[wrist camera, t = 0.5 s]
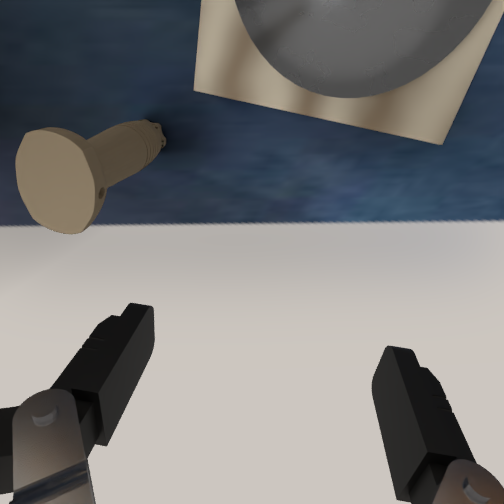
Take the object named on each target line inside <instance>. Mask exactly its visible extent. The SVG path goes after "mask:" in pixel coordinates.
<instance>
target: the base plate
mask: <svg viewBox="0 0 504 504" xmlns="http://www.w3.org/2000/svg"><path fill="white" fill-rule="evenodd" d="M503 12H504V0H492V1H491V3H490V5H489V6H488V8H487V9H486V11H485V13H484V14H483V16H482V17H481V18H480V20H479V21H478V22H477V24H476V25H475V26H474V28H473V29H472V30H471V31H470V33H469V34H468V35H467V36H466V37H465V38H464V40H463V41H462V42H461V43H460V44H459V45H458V46H457V47H456V48H455V49H454V50H453V51H452V52H451V53H450V54H449V55H448V56H446V57H445V58H444V59H443V60H442V61H441V62H440V63H438V64H437V65H436V66H434V67H433V68H432V69H430V70H429V71H427V72H426V73H425V74H423V75H422V76H420V77H418V78H416V79H415V80H413V81H411V82H409V83H407V84H406V85H403V86H401V87H398V88H396V89H394V90H391V91H389V92H385V93H381V94H378V95H374V96H368V97H361V98H336V97H329V96H324V95H320V94H317V93H314V92H310V91H308V90H306V89H304V88H302V87H300V86H297V85H296V84H294V83H293V82H291V81H290V80H288V79H286V78H285V77H283V76H282V75H281V74H280V73H279V72H278V71H277V70H275V69H274V68H273V67H272V66H271V65H270V64H269V63H268V61H267V60H266V59H265V58H264V57H263V56H262V55H261V53H260V52H259V50H258V49H257V47H256V46H255V44H254V43H253V41H252V40H251V38H250V36H249V34H248V32H247V30H246V28H245V26H244V24H243V22H242V20H241V17H240V14H239V11H238V9H237V6H236V3H235V0H202V1H201V13H200V24H199V35H198V46H197V57H196V69H195V80H194V91H198V92H202V93H207V94H211V95H216V96H221V97H225V98H230V99H234V100H239V101H243V102H248V103H252V104H257V105H261V106H266V107H271V108H275V109H280V110H284V111H289V112H293V113H298V114H302V115H307V116H312V117H316V118H321V119H325V120H330V121H334V122H339V123H343V124H348V125H352V126H357V127H362V128H366V129H371V130H375V131H380V132H384V133H389V134H393V135H398V136H403V137H407V138H412V139H416V140H421V141H425V142H430V143H434V144H439V145H442V144H443V142H444V140H445V138H446V135H447V133H448V131H449V129H450V127H451V125H452V122H453V120H454V118H455V116H456V114H457V112H458V110H459V107H460V105H461V103H462V101H463V99H464V97H465V94H466V92H467V90H468V88H469V86H470V84H471V81H472V79H473V77H474V75H475V73H476V71H477V68H478V66H479V64H480V62H481V60H482V58H483V55H484V53H485V51H486V49H487V47H488V45H489V42H490V40H491V38H492V36H493V34H494V32H495V29H496V27H497V25H498V23H499V21H500V19H501V16H502V14H503Z"/></svg>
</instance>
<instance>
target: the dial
mask: <svg viewBox="0 0 504 504" xmlns="http://www.w3.org/2000/svg"><path fill="white" fill-rule="evenodd" d="M491 1H492V0H235V3H236V6H237V9H238V11H239V14H240V17H241V20H242V22H243V24H244V26H245V28H246V30H247V32H248V34H249V36H250V38H251V40H252V41H253V43H254V44H255V46H256V47H257V49H258V50H259V52H260V53H261V55H262V56H263V57H264V58H265V59H266V60H267V61H268V63H269V64H270V65H271V66H272V67H273V68H274V69H275V70H277V71H278V72H279V73H280V74H281V75H282V76H283V77H285V78H286V79H288V80H290V81H291V82H293V83H294V84H296V85H297V86H300V87H302V88H304V89H306V90H308V91H310V92H314V93H317V94H320V95H324V96H329V97H336V98H361V97H368V96H374V95H378V94H381V93H385V92H389V91H391V90H394V89H396V88H398V87H401V86H403V85H406V84H407V83H409V82H411V81H413V80H415V79H416V78H418V77H420V76H422V75H423V74H425V73H426V72H427V71H429V70H430V69H432V68H433V67H434V66H436V65H437V64H438V63H440V62H441V61H442V60H443V59H444V58H445V57H446V56H448V55H449V54H450V53H451V52H452V51H453V50H454V49H455V48H456V47H457V46H458V45H459V44H460V43H461V42H462V41H463V40H464V38H465V37H466V36H467V35H468V34H469V33H470V31H471V30H472V29H473V28H474V26H475V25H476V24H477V22H478V21H479V20H480V18H481V17H482V16H483V14H484V13H485V11H486V9H487V8H488V6H489V5H490V3H491Z"/></svg>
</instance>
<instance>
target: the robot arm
mask: <svg viewBox="0 0 504 504" xmlns="http://www.w3.org/2000/svg"><path fill="white" fill-rule="evenodd" d="M154 341H155V336H154V309H153V307H152V306H147V305H142V304H136V303H130V304H128V306H127V307H126V309H125V310H124V311H123V313H122V314H121V316H114V315H111V316H110V317H108V318H107V319H105V320H104V321H102V322H101V323H99V324H98V325H97V327H96V328H95V329H94V331H93V332H92V333H91V335H90V336H89V339H87V340H86V341H85V343H84V344H83V345H82V348H80V349H79V351H78V352H77V353H76V355H75V356H74V358H73V359H72V360H71V361H70V363H69V364H68V365H67V367H66V368H65V369H64V371H63V372H62V373H61V375H60V376H59V378H58V379H57V380H56V381H55V383H54V384H53V385H52V387H51V388H50V389H48V390H44V391H41V392H38V393H36V394H34V395H33V396H31V397H29V398H28V399H27V400H25V401H24V402H23V403H22V404H21V405H20V406H16V407H10V408H1V409H0V494H6V493H11V492H14V495H13V500H12V501H11V502H10V503H9V504H96V503H95V497H94V492H93V486H92V481H91V476H90V470H89V465H88V460H87V458H88V456H89V454H90V452H91V451H92V448H93V447H94V445H95V444H97V445H102V446H107V445H108V443H109V441H110V439H111V437H112V435H113V433H114V431H115V429H116V427H117V424H118V422H119V420H120V418H121V416H122V414H123V412H124V410H125V408H126V406H127V404H128V402H129V400H130V398H131V396H132V394H133V391H134V390H135V388H136V386H137V384H138V381H139V379H140V377H141V375H142V373H143V371H144V369H145V367H146V365H147V363H148V361H149V359H150V357H151V354H152V351H153V347H154ZM372 396H373V400H374V405H375V409H376V413H377V418H378V422H379V426H380V430H381V435H382V439H383V443H384V448H385V452H386V456H387V460H388V465H389V469H390V473H391V478H392V481H393V486H394V490H395V495H396V499H397V500H400V501H406V502H411V504H504V488H503V487H502V485H501V484H500V482H499V481H498V480H497V479H496V478H495V477H494V476H493V475H492V474H491V473H490V472H489V471H487V470H486V469H485V468H483V467H482V466H480V465H478V464H477V463H476V461H475V459H474V457H473V455H472V452H471V450H470V448H469V446H468V443H467V441H466V439H465V437H464V435H463V433H462V430H461V428H460V426H459V424H458V422H457V419H456V417H455V415H454V413H452V408H451V406H450V404H449V402H448V400H446V395H445V393H444V391H443V389H442V386H441V384H440V382H439V381H438V380H437V379H436V377H435V376H434V375H433V374H432V373H431V372H430V371H429V369H428V368H424V367H420V365H419V363H418V361H417V358H416V356H415V353H414V352H413V350H411V349H407V348H401V347H394V346H387V347H386V348H385V350H384V352H383V355H382V357H381V359H380V362H379V364H378V366H377V369H376V371H375V374H374V376H373V380H372Z"/></svg>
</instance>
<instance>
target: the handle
mask: <svg viewBox="0 0 504 504" xmlns="http://www.w3.org/2000/svg"><path fill="white" fill-rule="evenodd" d="M165 144H166V138H165V137H164V135H163V133H162V130H161V125H160V124H159V123H152V122H149V121H148V120H146V119H144V120H138V121H130V122H125V123H121V124H119V125H116V126H113V127H111V128H109V129H107V130H105V131H103V132H101V133H99V134H97V135H96V136H94V137H92V138H90V139H88V140H85V139H84V138H83V137H81V136H80V135H78V134H76V133H74V132H71V131H69V130H66V129H61V128H54V127H47V128H43V129H38V130H34V131H31V132H28V133H26V134H25V136H24V138H23V140H22V143H21V145H20V147H19V149H18V152H17V156H16V176H17V184H18V189H19V192H20V195H21V197H22V199H23V201H24V203H25V205H26V207H27V209H28V211H29V212H30V214H31V216H32V218H33V219H35V220H36V221H37V222H38V223H40V224H41V225H42V226H44V227H46V228H48V229H50V230H53V231H56V232H59V233H63V234H77V233H81V232H83V231H84V230H85V229H86V228H88V227H89V226H90V225H91V223H92V222H93V221H94V219H95V218H96V216H97V215H98V213H99V211H100V210H101V208H102V205H103V203H104V200H105V197H106V192H107V188H108V187H110V186H112V185H114V184H116V183H118V182H119V181H121V180H123V179H125V178H127V177H129V176H131V175H133V174H135V173H137V172H139V171H140V170H142V169H143V168H144V167H146V166H147V165H148V164H149V163H151V162H152V161H153V160H154V158H155V157H156V156H157V155H158V153H159V152H160V150H161V148H163V147H164V146H165Z"/></svg>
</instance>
